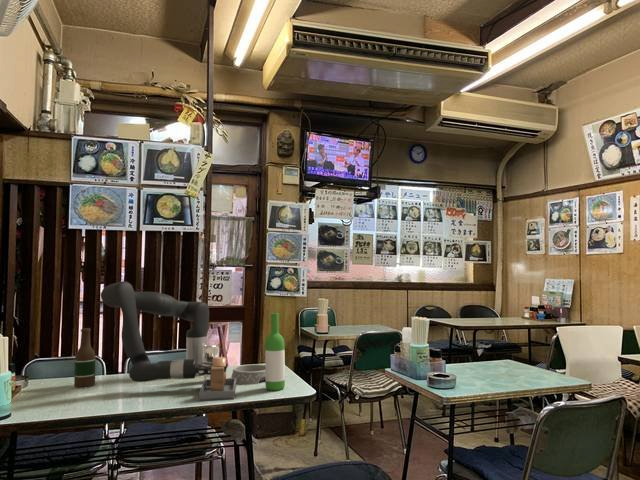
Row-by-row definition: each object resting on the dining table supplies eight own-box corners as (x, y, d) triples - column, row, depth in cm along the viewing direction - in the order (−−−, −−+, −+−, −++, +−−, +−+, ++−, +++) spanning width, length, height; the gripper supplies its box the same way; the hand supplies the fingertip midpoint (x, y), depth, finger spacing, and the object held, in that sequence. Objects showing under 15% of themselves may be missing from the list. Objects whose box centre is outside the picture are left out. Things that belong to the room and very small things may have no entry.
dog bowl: (280, 379, 203) (280, 366, 204) (248, 387, 190) (247, 373, 190) (255, 373, 215) (255, 362, 215) (222, 381, 201) (222, 368, 201)
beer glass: (214, 383, 195) (214, 347, 196) (199, 383, 197) (199, 347, 198) (221, 379, 202) (221, 345, 203) (206, 379, 203) (206, 344, 205)
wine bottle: (277, 392, 180) (277, 314, 182) (261, 389, 184) (261, 313, 186) (288, 387, 187) (287, 312, 189) (272, 385, 191) (272, 312, 193)
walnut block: (212, 393, 176) (212, 367, 177) (224, 393, 177) (224, 366, 178) (210, 396, 172) (210, 369, 173) (223, 396, 172) (222, 369, 173)
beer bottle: (69, 387, 192) (71, 329, 194) (85, 383, 199) (86, 327, 201) (84, 389, 189) (85, 329, 191) (99, 384, 197) (100, 327, 198)
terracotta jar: (214, 382, 189) (214, 357, 189) (227, 381, 189) (226, 356, 190) (212, 385, 184) (211, 359, 184) (224, 384, 184) (224, 359, 185)
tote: (205, 387, 190) (205, 379, 190) (236, 385, 191) (236, 378, 192) (198, 400, 169) (198, 392, 169) (233, 398, 171) (233, 390, 171)
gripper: (180, 363, 178) (225, 361, 180) (186, 356, 192) (227, 355, 194) (180, 382, 177) (225, 381, 180) (186, 374, 192) (227, 373, 194)
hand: (226, 367), depth 187 cm, fingers open, 5 cm apart
